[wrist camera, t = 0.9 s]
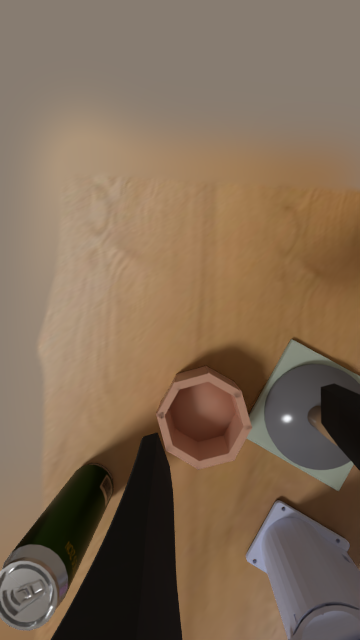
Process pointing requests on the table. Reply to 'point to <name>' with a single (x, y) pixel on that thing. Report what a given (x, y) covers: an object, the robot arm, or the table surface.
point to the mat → (258, 434)
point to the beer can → (53, 550)
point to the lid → (305, 416)
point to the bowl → (203, 418)
